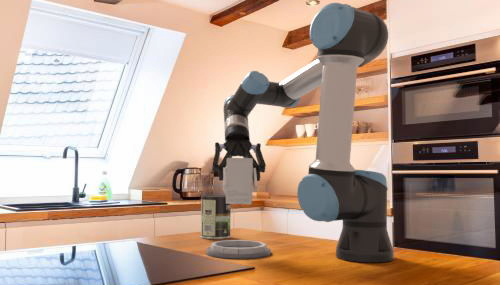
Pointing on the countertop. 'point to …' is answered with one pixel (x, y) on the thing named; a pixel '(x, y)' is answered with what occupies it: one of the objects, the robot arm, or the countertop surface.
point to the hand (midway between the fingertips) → (240, 188)
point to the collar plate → (238, 249)
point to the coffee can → (215, 217)
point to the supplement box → (239, 180)
